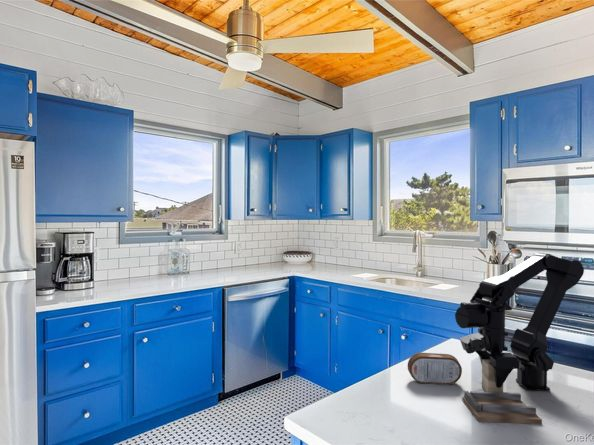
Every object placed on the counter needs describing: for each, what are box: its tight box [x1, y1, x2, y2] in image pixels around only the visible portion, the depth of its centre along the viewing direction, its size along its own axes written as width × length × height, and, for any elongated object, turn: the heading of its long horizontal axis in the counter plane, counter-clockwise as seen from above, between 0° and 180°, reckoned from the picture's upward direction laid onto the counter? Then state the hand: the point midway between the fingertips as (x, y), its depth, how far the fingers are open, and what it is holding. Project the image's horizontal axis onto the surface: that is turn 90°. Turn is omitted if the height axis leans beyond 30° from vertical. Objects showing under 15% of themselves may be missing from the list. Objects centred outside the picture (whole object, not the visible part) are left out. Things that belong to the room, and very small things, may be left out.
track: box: [461, 390, 543, 425], centre depth 96 cm, size 14×10×2 cm
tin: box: [407, 352, 463, 385], centre depth 113 cm, size 15×3×8 cm, turn 84°
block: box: [481, 359, 504, 392], centre depth 108 cm, size 4×4×8 cm
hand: (492, 381), depth 108 cm, fingers open, 7 cm apart
